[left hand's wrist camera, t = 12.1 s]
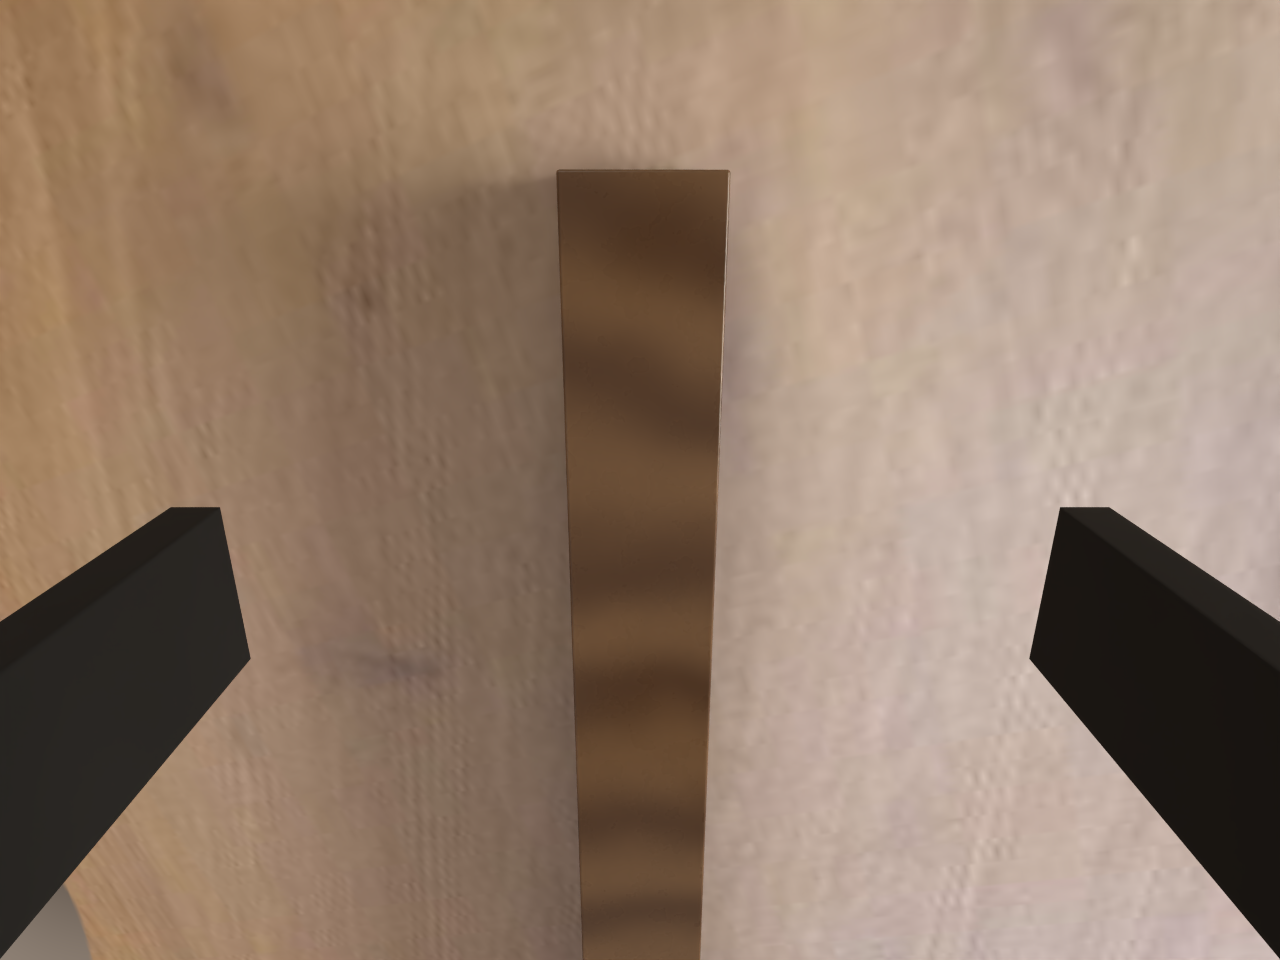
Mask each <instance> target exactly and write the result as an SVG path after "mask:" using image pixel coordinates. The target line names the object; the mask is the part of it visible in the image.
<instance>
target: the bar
mask: <svg viewBox="0 0 1280 960" xmlns="http://www.w3.org/2000/svg"><path fill="white" fill-rule="evenodd" d="M556 175H557V204H558V234H559V264H560V294H561V324H562V353H563V383H564V413H565V443H566V473H567V503H568V532H569V562H570V592H571V622H572V652H573V681H574V711H575V741H576V771H577V801H578V830H579V860H580V890H581V920H582V950H583V960H700V947H701V921H702V895H703V869H704V843H705V817H706V792H707V766H708V740H709V714H710V688H711V662H712V636H713V610H714V584H715V559H716V533H717V507H718V481H719V455H720V429H721V403H722V377H723V351H724V326H725V300H726V274H727V248H728V222H729V196H730V171H729V170H557V173H556Z"/></svg>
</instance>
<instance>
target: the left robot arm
mask: <svg viewBox="0 0 1280 960" xmlns="http://www.w3.org/2000/svg"><path fill="white" fill-rule="evenodd" d="M250 659H251V658H250V653H249V648H248V644H247V639H246V634H245V629H244V624H243V619H242V614H241V609H240V604H239V599H238V594H237V589H236V585H235V580H234V575H233V570H232V565H231V560H230V555H229V550H228V545H227V540H226V535H225V530H224V526H223V521H222V516H221V511H220V507H171V508H169V509H168V510H166V511H165V512H163V513H162V514H160V515H159V516H157V517H156V518H154V519H153V520H151V521H150V522H148V523H147V524H145V525H144V526H142V527H141V528H139V529H138V530H136V531H135V532H133V533H132V534H130V535H129V536H127V537H126V538H124V539H123V540H121V541H120V542H118V543H117V544H115V545H114V546H112V547H111V548H110V549H108V550H107V551H105V552H104V553H102V554H101V555H99V556H98V557H96V558H95V559H93V560H92V561H90V562H89V563H87V564H86V565H84V566H83V567H81V568H80V569H78V570H77V571H75V572H74V573H72V574H71V575H69V576H68V577H66V578H65V579H63V580H62V581H60V582H59V583H57V584H56V585H54V586H53V587H51V588H50V589H48V590H47V591H45V592H44V593H43V594H41V595H40V596H38V597H37V598H35V599H34V600H32V601H31V602H29V603H28V604H26V605H25V606H23V607H22V608H20V609H19V610H17V611H16V612H14V613H13V614H11V615H10V616H8V617H7V618H5V619H4V620H2V621H1V622H0V958H1V957H2V956H3V955H4V954H5V952H6V951H7V950H8V949H9V948H10V946H11V945H12V944H13V943H14V942H15V940H16V939H17V938H18V937H19V936H20V934H21V933H22V932H23V931H24V930H25V928H26V927H27V926H28V925H29V924H30V922H31V921H32V920H33V919H34V918H35V916H36V915H37V914H38V913H39V912H40V910H41V909H42V908H43V907H44V906H45V904H46V903H47V902H48V901H49V900H50V898H51V897H52V896H53V895H54V894H55V892H56V891H57V890H58V889H59V888H60V886H61V885H62V884H63V883H64V882H65V881H66V879H67V878H68V877H69V876H70V875H71V873H72V872H73V871H74V870H75V869H76V867H77V866H78V865H79V864H80V863H81V861H82V860H83V859H84V858H85V857H86V855H87V854H88V853H89V852H90V851H91V849H92V848H93V847H94V846H95V845H96V843H97V842H98V841H99V840H100V839H101V837H102V836H103V835H104V834H105V833H106V831H107V830H108V829H109V828H110V827H111V825H112V824H113V823H114V822H115V821H116V819H117V818H118V817H119V816H120V815H121V813H122V812H123V811H124V810H125V809H126V807H127V806H128V805H129V804H130V803H131V801H132V800H133V799H134V798H135V797H136V795H137V794H138V793H139V792H140V791H141V789H142V788H143V787H144V786H145V785H146V783H147V782H148V781H149V780H150V779H151V777H152V776H153V775H154V774H155V773H156V771H157V770H158V769H159V768H160V767H161V765H162V764H163V763H164V762H165V761H166V759H167V758H168V757H169V756H170V755H171V754H172V752H173V751H174V750H175V749H176V748H177V746H178V745H179V744H180V743H181V742H182V740H183V739H184V738H185V737H186V736H187V734H188V733H189V732H190V731H191V730H192V728H193V727H194V726H195V725H196V724H197V722H198V721H199V720H200V719H201V718H202V716H203V715H204V714H205V713H206V712H207V710H208V709H209V708H210V707H211V706H212V704H213V703H214V702H215V701H216V700H217V698H218V697H219V696H220V695H221V694H222V692H223V691H224V690H225V689H226V688H227V686H228V685H229V684H230V683H231V682H232V680H233V679H234V678H235V677H236V676H237V674H238V673H239V672H240V671H241V670H242V668H243V667H244V666H245V665H246V664H247V662H248V661H249V660H250ZM1029 659H1030V660H1031V661H1032V662H1033V664H1034V665H1035V666H1036V667H1037V668H1038V670H1039V671H1040V672H1041V673H1042V674H1043V676H1044V677H1045V678H1046V679H1047V680H1048V682H1049V683H1050V684H1051V685H1052V686H1053V688H1054V689H1055V690H1056V691H1057V692H1058V694H1059V695H1060V696H1061V697H1062V698H1063V700H1064V701H1065V702H1066V703H1067V704H1068V706H1069V707H1070V708H1071V709H1072V710H1073V712H1074V713H1075V714H1076V715H1077V716H1078V718H1079V719H1080V720H1081V721H1082V722H1083V724H1084V725H1085V726H1086V727H1087V728H1088V730H1089V731H1090V732H1091V733H1092V734H1093V736H1094V737H1095V738H1096V739H1097V740H1098V742H1099V743H1100V744H1101V745H1102V746H1103V748H1104V749H1105V750H1106V751H1107V752H1108V754H1109V755H1110V756H1111V757H1112V758H1113V759H1114V761H1115V762H1116V763H1117V764H1118V765H1119V767H1120V768H1121V769H1122V770H1123V771H1124V773H1125V774H1126V775H1127V776H1128V777H1129V779H1130V780H1131V781H1132V782H1133V783H1134V785H1135V786H1136V787H1137V788H1138V789H1139V791H1140V792H1141V793H1142V794H1143V795H1144V797H1145V798H1146V799H1147V800H1148V801H1149V803H1150V804H1151V805H1152V806H1153V807H1154V809H1155V810H1156V811H1157V812H1158V813H1159V815H1160V816H1161V817H1162V818H1163V819H1164V821H1165V822H1166V823H1167V824H1168V825H1169V827H1170V828H1171V829H1172V830H1173V831H1174V833H1175V834H1176V835H1177V836H1178V837H1179V839H1180V840H1181V841H1182V842H1183V843H1184V845H1185V846H1186V847H1187V848H1188V849H1189V851H1190V852H1191V853H1192V854H1193V855H1194V857H1195V858H1196V859H1197V860H1198V861H1199V863H1200V864H1201V865H1202V866H1203V867H1204V869H1205V870H1206V871H1207V872H1208V873H1209V875H1210V876H1211V877H1212V878H1213V879H1214V881H1215V882H1216V883H1217V884H1218V885H1219V887H1220V888H1221V889H1222V890H1223V891H1224V892H1225V894H1226V895H1227V896H1228V897H1229V898H1230V900H1231V901H1232V902H1233V903H1234V904H1235V906H1236V907H1237V908H1238V909H1239V910H1240V912H1241V913H1242V914H1243V915H1244V916H1245V918H1246V919H1247V920H1248V921H1249V922H1250V924H1251V925H1252V926H1253V927H1254V928H1255V930H1256V931H1257V932H1258V933H1259V934H1260V936H1261V937H1262V938H1263V939H1264V940H1265V942H1266V943H1267V944H1268V945H1269V946H1270V948H1271V949H1272V950H1273V951H1274V952H1275V954H1276V955H1277V956H1278V957H1279V958H1280V622H1279V621H1278V620H1276V619H1275V618H1273V617H1272V616H1270V615H1269V614H1267V613H1266V612H1264V611H1263V610H1261V609H1260V608H1258V607H1257V606H1255V605H1254V604H1252V603H1251V602H1249V601H1248V600H1246V599H1245V598H1243V597H1242V596H1240V595H1239V594H1237V593H1236V592H1235V591H1233V590H1232V589H1230V588H1229V587H1227V586H1226V585H1224V584H1223V583H1221V582H1220V581H1218V580H1217V579H1215V578H1214V577H1212V576H1211V575H1209V574H1208V573H1206V572H1205V571H1203V570H1202V569H1200V568H1199V567H1197V566H1196V565H1194V564H1193V563H1191V562H1190V561H1188V560H1187V559H1185V558H1184V557H1182V556H1181V555H1179V554H1178V553H1176V552H1175V551H1173V550H1172V549H1170V548H1169V547H1168V546H1166V545H1165V544H1163V543H1162V542H1160V541H1159V540H1157V539H1156V538H1154V537H1153V536H1151V535H1150V534H1148V533H1147V532H1145V531H1144V530H1142V529H1141V528H1139V527H1138V526H1136V525H1135V524H1133V523H1132V522H1130V521H1129V520H1127V519H1126V518H1124V517H1123V516H1121V515H1120V514H1118V513H1117V512H1115V511H1114V510H1112V509H1111V508H1109V507H1060V511H1059V516H1058V521H1057V526H1056V530H1055V535H1054V540H1053V545H1052V550H1051V555H1050V560H1049V565H1048V570H1047V575H1046V580H1045V585H1044V589H1043V594H1042V599H1041V604H1040V609H1039V614H1038V619H1037V624H1036V629H1035V634H1034V639H1033V644H1032V648H1031V653H1030V658H1029Z"/></svg>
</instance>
